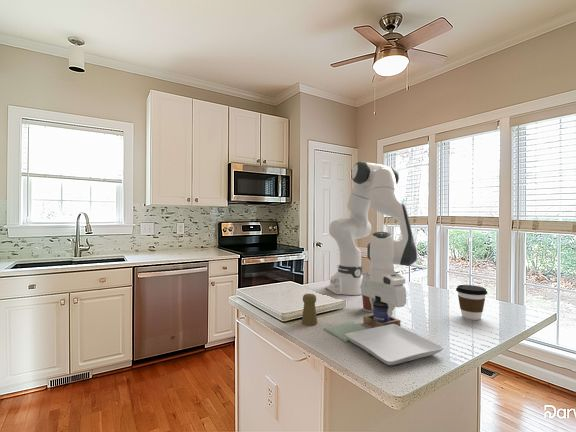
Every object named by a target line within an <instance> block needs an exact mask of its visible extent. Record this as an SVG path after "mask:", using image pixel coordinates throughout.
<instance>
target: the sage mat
mask: <svg viewBox="0 0 576 432" xmlns="http://www.w3.org/2000/svg"><path fill="white" fill-rule="evenodd" d="M365 329H368V328H367V327H365V326H362V325H360V324H358V323H356V322H354V321H349V322H348V321H347V322H344V323H338V324H334V325H329V326H324V327H323V330H325V331H327V333H330V334H331V335H334V336H335V337H336V338H338V339H340V340H342V341H343V342H345V343H348V342H351V341H350V340H349V339H348V338H347V337H346V336H345V334H346V333H351V332H355V331H360V330H365Z"/></svg>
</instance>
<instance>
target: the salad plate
mask: <svg viewBox="0 0 576 432" xmlns="http://www.w3.org/2000/svg"><path fill="white" fill-rule="evenodd" d="M345 336H346V337H347V338H348V339H349V340H350V341H349V342H351V343H353V344H354V345H355V346H358V347H359V348H361V349H362V350H364V351H366V352H368V353H369V354H370V355H372V356H374V358H376V359H378V360H379V361H380V362H381V363H384V364H385V365H387V366H394V365H398V364H399V365H400V364H402V363H405V362H406V363H407V362H411V361H414V360H418V359H421V358H424V357H429V356H434V355H436V354H438V353H441V352H442V351H443V350H444V346H442V345H440V344H437V343H436V342H434V341H432V340H430V339H428V338H425V337H424V336H421V335H419V334H417V333H416V332H414V331H411V330H409V329H407V328H405V327H403V326H401V325H400V326H398V325H396V324H390V325H385V326H380V327H375V328H373V327H371V328H367V329H365V330H360V331H355V332H351V333H346V334H345Z"/></svg>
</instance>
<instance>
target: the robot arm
mask: <svg viewBox="0 0 576 432" xmlns="http://www.w3.org/2000/svg"><path fill="white" fill-rule="evenodd" d="M351 180H352V181H353V182H354V184H353V185H352V188H351V190H350V194H349V197H348V201H347V204H346V207H347V209H348V210H349V211H350V217H349V218H338V219H335V220H332V221H331V222H330V224H329V226H328V231H329V235H330V236H331V238H333V239H334V241H335V242H336V244H337V246H338V251H339V264H338V265H337V267H336V268H337V272H336V273H334V275H332V276H331V277H330V279H329V284H327V285H326V286H325V288H326V289H327V290H329V291H330V292H332V293H334V294H335V295H346V296H359V295H364V296H367V297H369V300H370V303H371V305H372V309H373V303H374V301H375V300H376V299H375V295H376V296H379V297H381V302H384V303H387V304H388V307H389V309H388V310H386V315H387V316H391V317H393V312H394V309H395V308H402V307H405V306H406V304H407V290H406V287H405V284H406V278H405V277H403V276H402V275H401V274H399V273H398V272H396V271H395V265H400V266H405V267H410V266H411V265H414V263H416V261H418V254H419V253H418V248H417V245H416V243H415V240H414V236H413V235H414V234H413V231H412V227H411V221H410V217H409V214H408V210H407V207H406V205H405V203H404V202H402V201H400V199H399V197H398V193H397V191H398V190H397V185H398V183H399V180H400V174H399V171H398V170H397V169H396V168H394V167H392V166H387V165H384V164H380V163H373V162H367V161H358V162H356V163H355V164H354V165H353V167H352V169H351ZM371 206H372V208H373V209H374V210H375V211H376V212H378V213H380V214H382V215H385V216H389V217H391V218H393V219H395V220H396V221H397V222H398V225H399V229H400V234H401V239H394V237H393V235H392V233H390V232H388V231H387V232H386V231H377V232H373V233H372V234H371V232H372V224H371V222H370V221H369V210H370V207H371ZM369 235H371V237H370V242H369V243H368V244H367V248H366V249H367V256H366V257H367V259H368V260H369V261H370V264H369V272H368V271H366V272H365V271H364V273H363V265H362V251H361V249H360V248H359V247H358V246H357V245H356V243H355V240H357V239H359V240H360V239H363V238H366V237H368V236H369ZM362 273H363V274H362ZM360 285H361V288H360Z"/></svg>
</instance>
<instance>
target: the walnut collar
mask: <svg viewBox="0 0 576 432" xmlns="http://www.w3.org/2000/svg"><path fill="white" fill-rule="evenodd" d="M362 317H363V322H362V323H363V324H365V325H367V326H369V327H371V328H375V327H380V326H385V325H390V324H396V325H398V326H400V327H401V319H398V318H395V317H394V316H390V321H388V322H384V323H380V322H378V321H376V320H373V314H369V315H364V316H362Z"/></svg>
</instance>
